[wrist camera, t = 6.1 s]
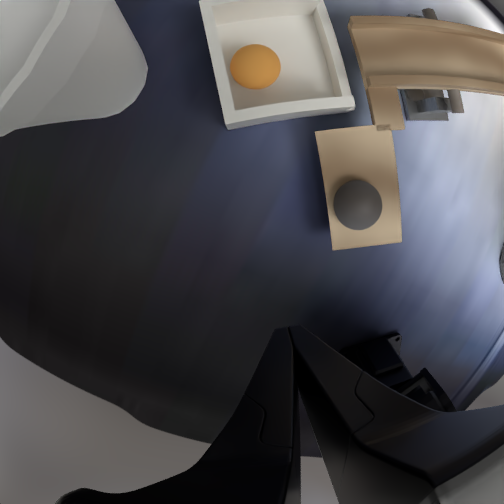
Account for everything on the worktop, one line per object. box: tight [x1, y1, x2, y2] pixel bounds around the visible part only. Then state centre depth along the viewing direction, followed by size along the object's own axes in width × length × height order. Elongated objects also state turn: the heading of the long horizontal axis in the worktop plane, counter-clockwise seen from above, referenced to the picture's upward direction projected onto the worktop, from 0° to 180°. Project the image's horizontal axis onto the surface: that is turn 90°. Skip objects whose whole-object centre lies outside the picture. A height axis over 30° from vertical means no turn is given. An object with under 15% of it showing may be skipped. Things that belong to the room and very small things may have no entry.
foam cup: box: [0, 0, 148, 136], centre depth 10 cm, size 10×9×13 cm
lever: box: [315, 8, 504, 250], centre depth 13 cm, size 17×24×4 cm
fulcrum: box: [400, 14, 452, 121], centre depth 15 cm, size 9×4×3 cm, turn 11°
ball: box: [230, 44, 281, 89], centre depth 15 cm, size 3×3×3 cm
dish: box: [199, 0, 355, 130], centre depth 15 cm, size 9×9×4 cm
